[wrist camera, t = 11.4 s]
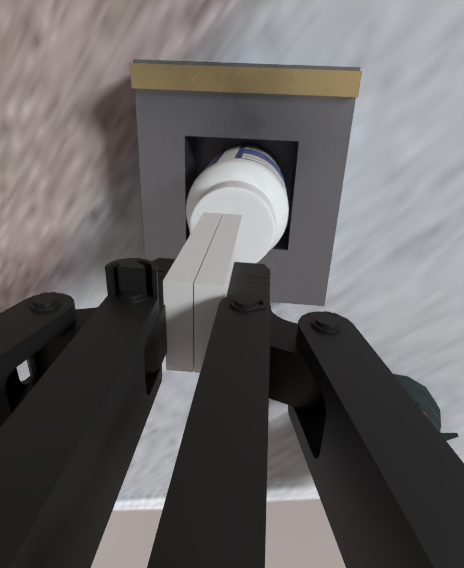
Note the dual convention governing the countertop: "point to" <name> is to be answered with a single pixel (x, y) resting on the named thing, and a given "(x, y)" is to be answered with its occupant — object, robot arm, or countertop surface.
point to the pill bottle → (243, 197)
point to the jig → (247, 131)
